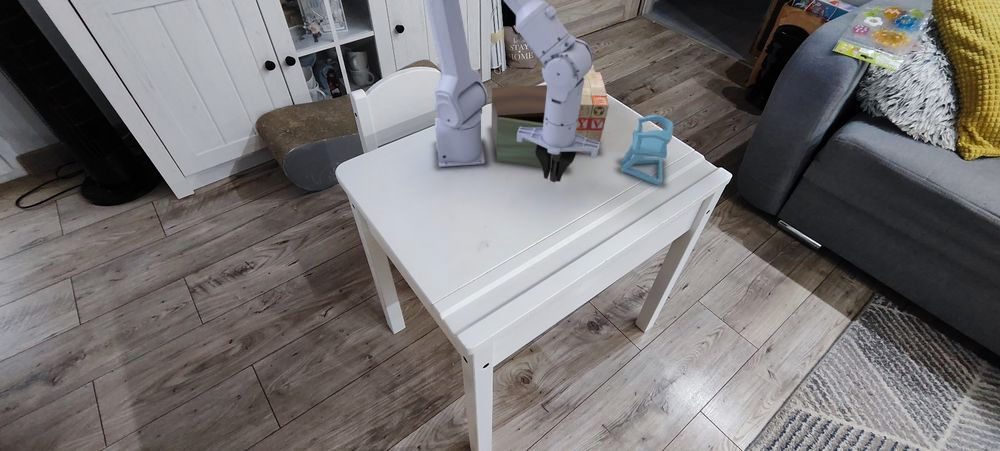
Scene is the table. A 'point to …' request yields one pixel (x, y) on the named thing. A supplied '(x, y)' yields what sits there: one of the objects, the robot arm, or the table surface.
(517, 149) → the cupboard door
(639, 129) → the chair
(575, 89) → the robot arm
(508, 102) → the cupboard
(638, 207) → the table surface
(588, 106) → the stack of blocks
